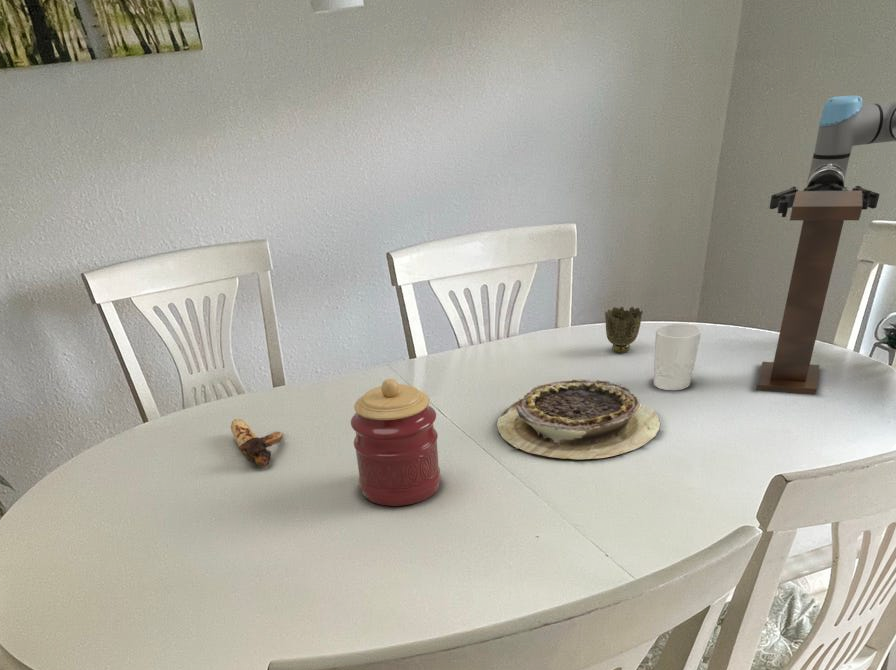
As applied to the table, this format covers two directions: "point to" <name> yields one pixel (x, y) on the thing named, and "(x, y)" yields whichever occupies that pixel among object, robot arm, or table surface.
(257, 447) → the lashed bone hook
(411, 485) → the kitchen canister
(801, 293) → the stand
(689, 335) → the white cup
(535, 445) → the pie
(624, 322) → the cup
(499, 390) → the table surface
